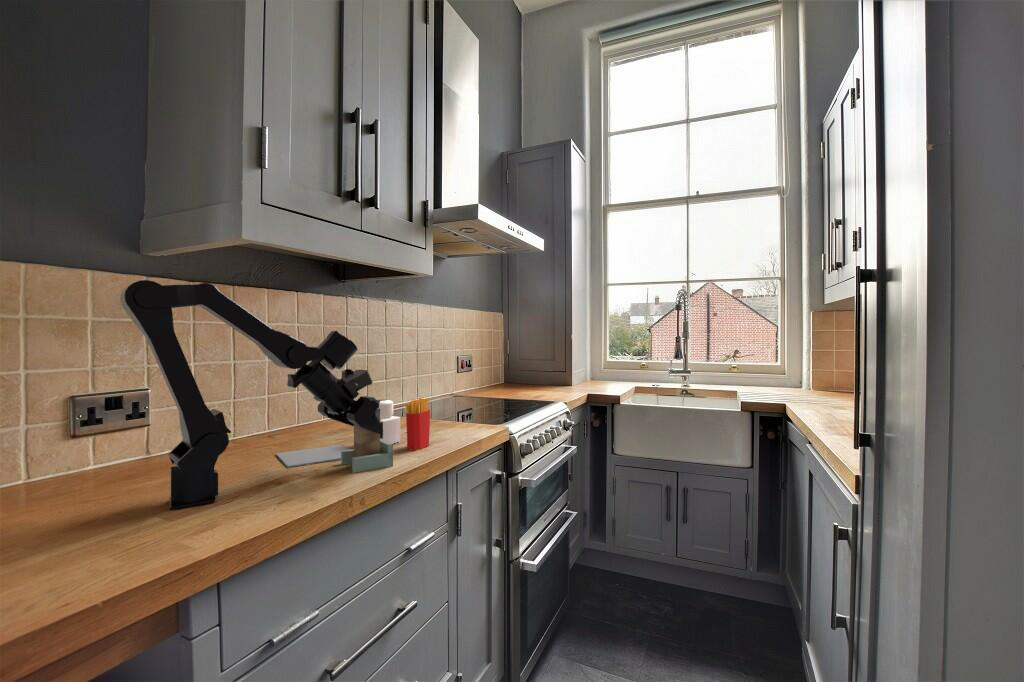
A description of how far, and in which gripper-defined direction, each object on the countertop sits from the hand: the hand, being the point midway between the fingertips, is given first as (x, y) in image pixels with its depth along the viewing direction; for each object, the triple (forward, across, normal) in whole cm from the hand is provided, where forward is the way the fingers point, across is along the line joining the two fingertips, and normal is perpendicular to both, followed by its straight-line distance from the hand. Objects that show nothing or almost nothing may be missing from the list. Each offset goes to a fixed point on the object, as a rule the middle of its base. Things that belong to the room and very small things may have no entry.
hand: (371, 429), depth 106 cm
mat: (+2, +16, +10) cm, 19 cm away
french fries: (+18, +6, -6) cm, 20 cm away
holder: (+5, 0, +6) cm, 8 cm away
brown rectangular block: (+5, 0, +6) cm, 8 cm away
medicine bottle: (+15, +17, -3) cm, 23 cm away
